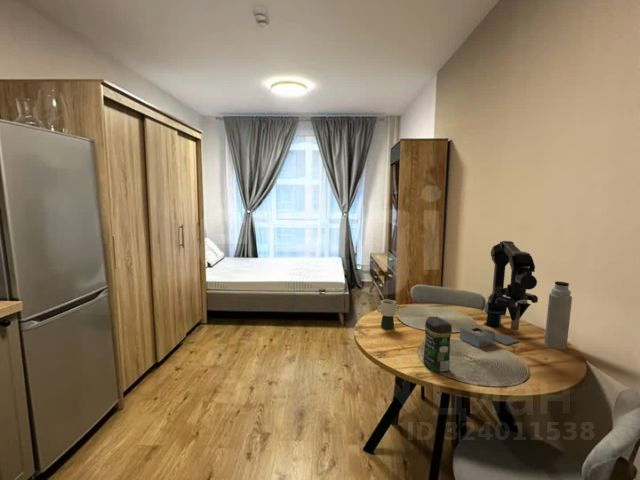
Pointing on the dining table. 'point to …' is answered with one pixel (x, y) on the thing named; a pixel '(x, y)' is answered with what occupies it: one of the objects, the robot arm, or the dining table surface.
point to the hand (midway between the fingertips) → (515, 319)
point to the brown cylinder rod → (515, 322)
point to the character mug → (388, 313)
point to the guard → (477, 335)
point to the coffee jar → (437, 344)
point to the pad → (505, 339)
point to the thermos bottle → (558, 316)
